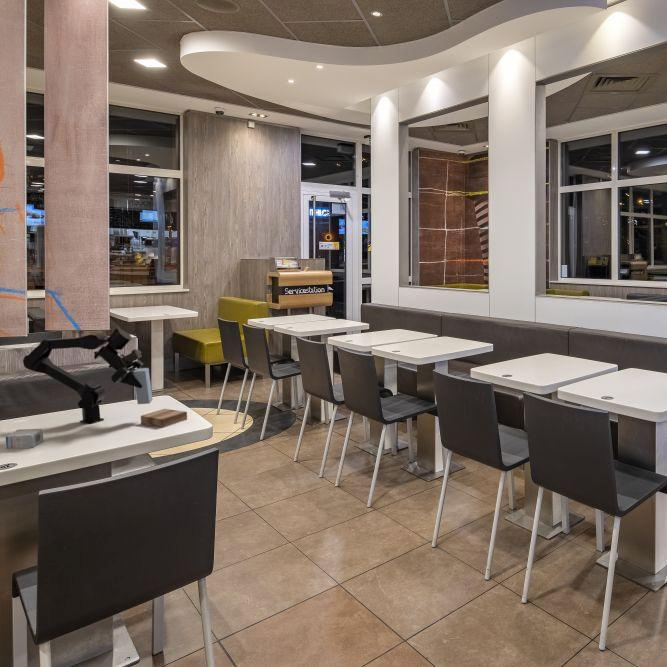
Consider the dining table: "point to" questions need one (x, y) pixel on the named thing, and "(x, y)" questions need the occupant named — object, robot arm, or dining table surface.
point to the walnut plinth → (164, 417)
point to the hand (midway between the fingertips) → (144, 386)
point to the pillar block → (143, 386)
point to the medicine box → (24, 438)
